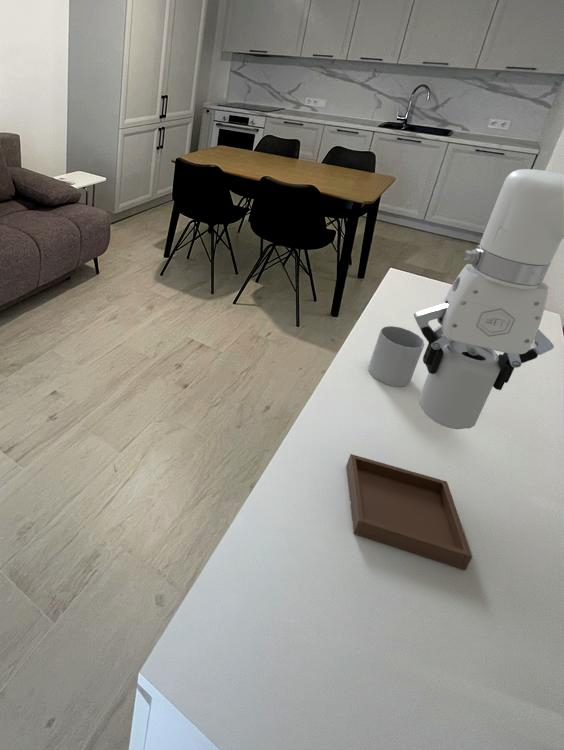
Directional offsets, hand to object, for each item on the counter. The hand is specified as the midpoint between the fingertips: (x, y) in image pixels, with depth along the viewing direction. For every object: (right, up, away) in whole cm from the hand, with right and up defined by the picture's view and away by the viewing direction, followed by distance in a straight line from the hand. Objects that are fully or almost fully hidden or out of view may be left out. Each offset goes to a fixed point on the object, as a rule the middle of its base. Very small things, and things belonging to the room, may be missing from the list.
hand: (461, 375), depth 71 cm
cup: (+11, -10, +39) cm, 42 cm away
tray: (-5, -23, +6) cm, 24 cm away
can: (0, -7, +3) cm, 7 cm away
